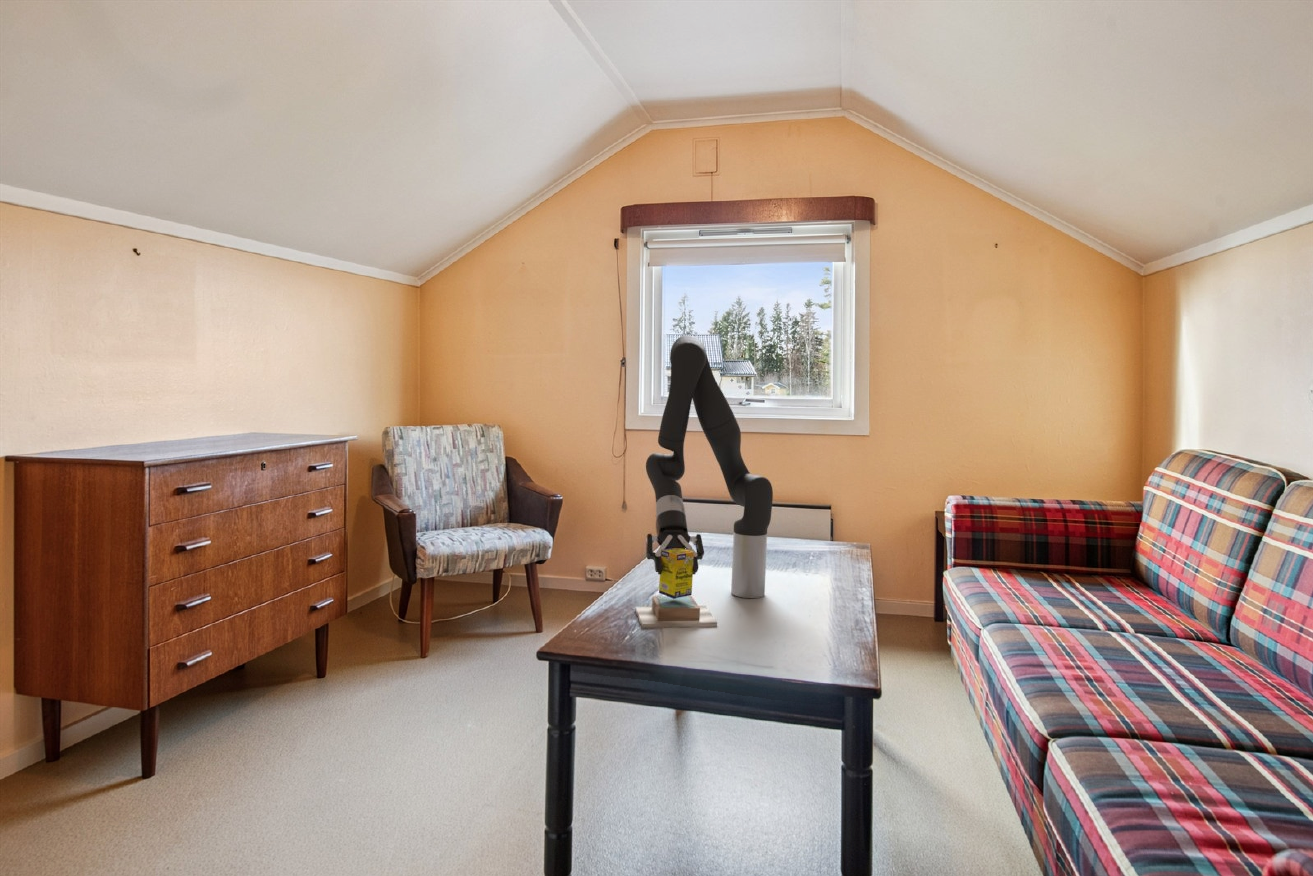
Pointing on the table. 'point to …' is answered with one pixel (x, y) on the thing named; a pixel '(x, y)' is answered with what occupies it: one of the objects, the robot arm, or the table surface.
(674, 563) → the supplement box
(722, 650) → the table surface
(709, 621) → the board
